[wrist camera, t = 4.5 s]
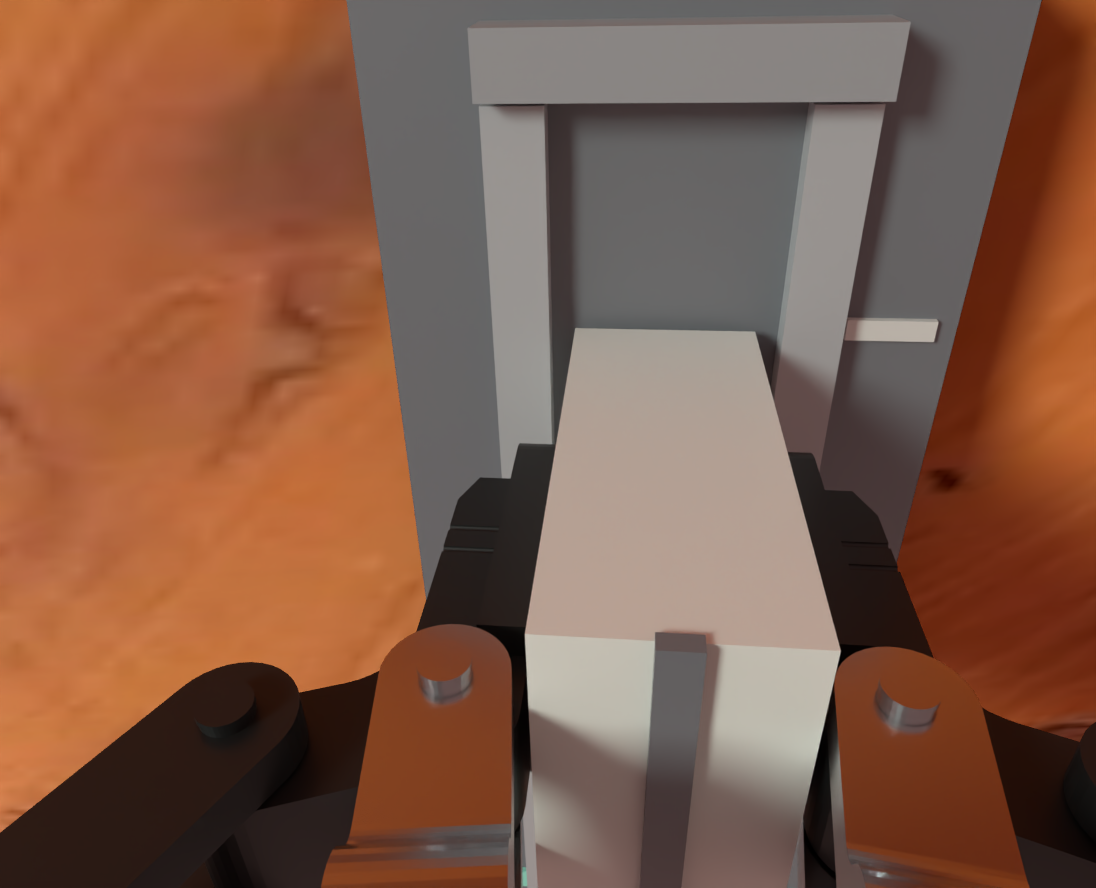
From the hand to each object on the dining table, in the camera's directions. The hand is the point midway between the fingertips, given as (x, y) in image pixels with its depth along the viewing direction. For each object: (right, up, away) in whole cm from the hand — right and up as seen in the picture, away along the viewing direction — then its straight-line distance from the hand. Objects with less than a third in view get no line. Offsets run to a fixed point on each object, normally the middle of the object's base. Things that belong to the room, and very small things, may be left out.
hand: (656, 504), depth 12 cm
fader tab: (0, +1, +1) cm, 2 cm away
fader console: (+1, -3, +6) cm, 7 cm away
